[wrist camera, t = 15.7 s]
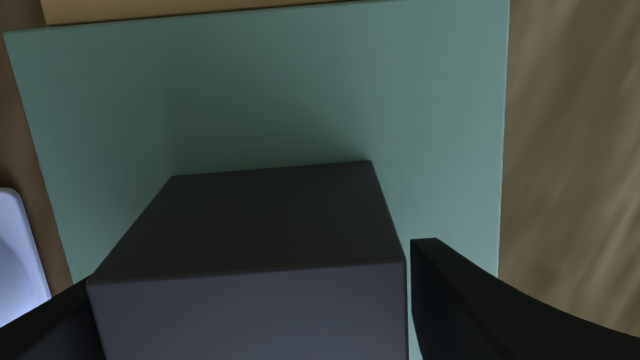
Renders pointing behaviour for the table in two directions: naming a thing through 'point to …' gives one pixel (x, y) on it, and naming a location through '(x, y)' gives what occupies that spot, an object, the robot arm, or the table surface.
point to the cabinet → (274, 112)
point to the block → (258, 270)
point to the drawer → (150, 9)
